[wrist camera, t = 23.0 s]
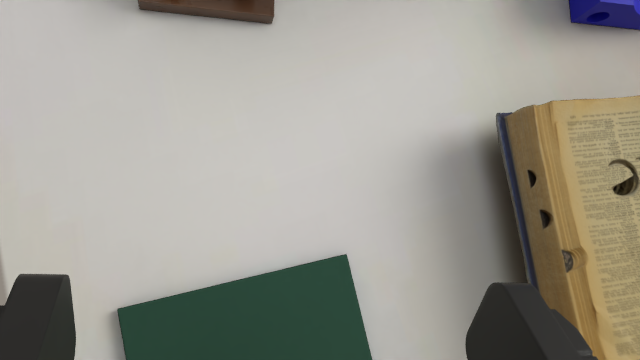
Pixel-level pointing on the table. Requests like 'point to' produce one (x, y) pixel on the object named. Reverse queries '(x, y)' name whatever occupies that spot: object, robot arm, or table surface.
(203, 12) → the holder
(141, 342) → the mat
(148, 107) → the table surface
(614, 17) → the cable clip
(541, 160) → the book
